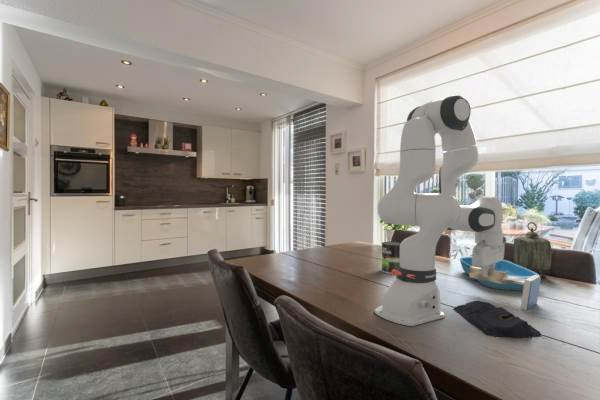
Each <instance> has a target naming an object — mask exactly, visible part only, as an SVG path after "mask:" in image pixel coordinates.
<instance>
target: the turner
mask: <svg viewBox="0 0 600 400" xmlns="http://www.w3.org/2000/svg"><path fill="white" fill-rule="evenodd" d="M488 272H489V277H483V276H482V270H481V268H478V267H474V266H471V267H469V278H471V279H474V278H476V279H481V280H486V281H490V282H495V283H500V284H506V283H507V282H511V283H516V284H521V285H524V282H525V279H524V278H518V277H513V276H507V272H503V271H498V270H492V269H488ZM476 279H475V280H476Z"/></svg>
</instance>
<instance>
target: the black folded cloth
mask: <svg viewBox="0 0 600 400" xmlns="http://www.w3.org/2000/svg"><path fill="white" fill-rule="evenodd" d="M452 309H453V311H454V312H455V313H457V314H458V315H459V316H461V318H463V319H464V320H465V321H467V322H468V323H470V324H471V325H472V326H473V325H474V326H473V327H475V328H476V329H477V328H478V331H480V330H481V331H482V332H483V334H484V335H485V336H490V337H493V336H494V337H493V338H495V337H499V338H509V337H510V339H528V338H533V337H537V336H539V337H540V336H541V335H542V334H541V331H539V330H538V329H536V328H535V327H533V326H532V325H530V324H529V322H528V321H527V320H524V319H521V318H520V317H519V316H515V314H513V313H511V312H510V311H508V310H507V309H505V308H504V307H502V306H501V307H500V306H499V307H498V306H495V305H494V304H492V303H490V302H487V301H486V302H485V301H481V300H473V301H470V302H466V303H465V304H461V305H457V306H455V307H453V308H452ZM481 331H480V332H481ZM482 332H481V333H482Z"/></svg>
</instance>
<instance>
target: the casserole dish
mask: <svg viewBox="0 0 600 400" xmlns="http://www.w3.org/2000/svg"><path fill="white" fill-rule="evenodd" d="M459 262H460V265H461V268H462V270H463V272H464V273H466V274H467V275H469V267H471V266H473V265H472V256H464V257H460V258H459ZM494 270H498V271H503V272H507V276H513V277H518V278H524V279H527V278H529V277H531V276H533V275H538V276H540V275H539V273H537V272H536V271H533V270H532V271H531V270H529V269H526V268H524V267H522V266H520V265H519V264H517V263H515V262H512V261H510V260H506V259H503V260H502V261H500V262H497V263H495V268H494ZM473 279H474V280H475V281H477V282H479V283H481V284H482V285H483V286H485V287H487V288H490V289H494V290H504V291H505V290H506V291H507V290H509V291H510V290H512V291H523V289H524V285H521V284H516V283H511V282H507V283H506V284H500V283H495V282H490V281H486V280H481V279H476V278H473Z"/></svg>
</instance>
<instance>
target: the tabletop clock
mask: <svg viewBox="0 0 600 400" xmlns="http://www.w3.org/2000/svg"><path fill="white" fill-rule="evenodd" d="M531 224H533V225H534V226H535V229H534V228H533V227H531V228H530V225H531ZM526 226H527V229H528V230H529V231H527V232H526V233H525V234H524V236H518V237H516V238H513V239H514V240H513V248H512V249H513V251H512V253H513V261H514V262H513V263H514V264H517V265H519V266H522V267H524V268H526V269H529V270H531V271H533V270H537V271H538V272H539V273H540V274H541V277H542V278H543V279H546V278H547V275H546V274H544V273H543V271H542V270H550V269H551V266H552V244H551V241H550V240H549V239H547V238H545V237H540V236H539V234H538V233H537V232H536V231H537V229H538V228H537V227H538V226H537V224H536V223H535V222H534V221H530V222H528V223H527V225H526Z"/></svg>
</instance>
